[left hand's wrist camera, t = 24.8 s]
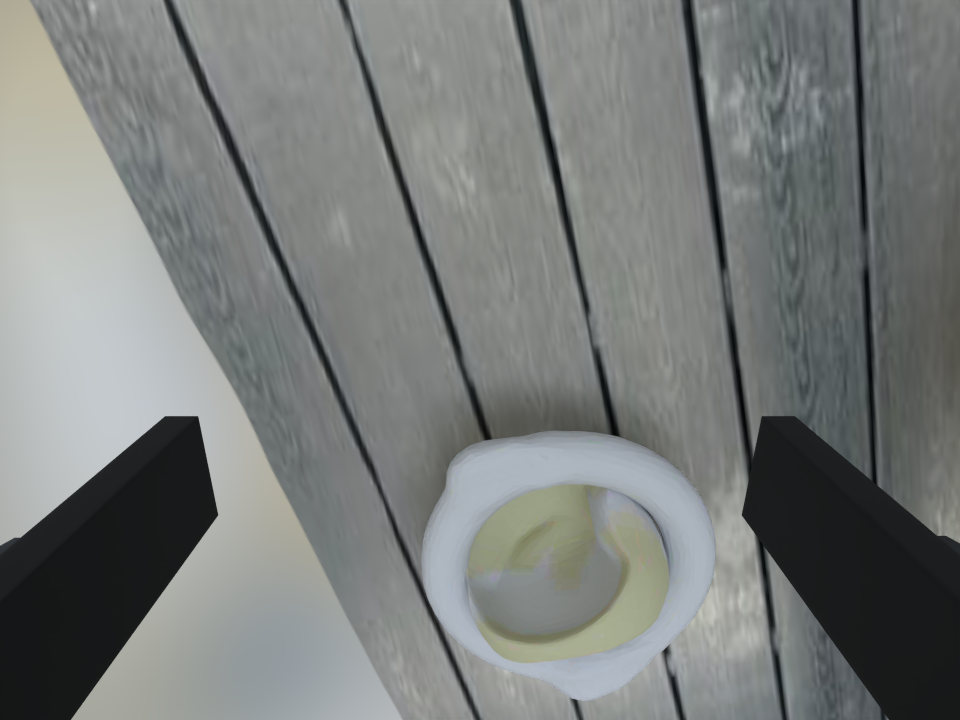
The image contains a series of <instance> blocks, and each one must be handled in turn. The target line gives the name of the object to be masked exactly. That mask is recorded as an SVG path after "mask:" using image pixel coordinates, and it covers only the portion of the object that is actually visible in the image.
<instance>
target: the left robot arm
mask: <svg viewBox="0 0 960 720" xmlns="http://www.w3.org/2000/svg"><path fill="white" fill-rule="evenodd" d="M217 516H218V512H217V507H216V502H215V497H214V492H213V487H212V482H211V478H210V472H209V468H208V463H207V458H206V453H205V448H204V443H203V438H202V433H201V428H200V423H199V418H198V416H165V417H164V418H163V419H161V420H160V421H159V422H158V423H157V424H156V425H154V426H153V427H152V428H151V429H150V430H148V431H147V432H146V433H145V434H144V435H142V436H141V437H140V438H139V439H138V440H136V441H135V442H134V443H133V444H132V445H131V446H129V447H128V448H127V449H126V450H125V451H123V452H122V453H121V454H120V455H119V456H117V457H116V458H115V459H114V460H113V461H111V462H110V463H109V464H108V465H107V466H106V467H104V468H103V469H102V470H101V471H100V472H98V473H97V474H96V475H95V476H94V477H92V478H91V479H90V480H89V481H88V482H86V483H85V484H84V485H83V486H82V487H81V488H79V489H78V490H77V491H76V492H75V493H73V494H72V495H71V496H70V497H69V498H67V499H66V500H65V501H64V502H63V503H62V504H60V505H59V506H58V507H57V508H56V509H54V510H53V511H52V512H51V513H50V514H48V515H47V516H46V517H45V518H44V519H42V520H41V521H40V522H39V523H38V524H37V525H35V526H34V527H33V528H32V529H31V530H29V531H28V532H27V533H26V534H25V535H23V536H22V537H21V538H13V539H12V540H10V541H8V542H6V543H4V544H3V545H1V546H0V720H71V719H72V717H73V716H74V715H75V713H76V712H77V710H78V709H79V708H80V706H81V705H82V703H83V702H84V701H85V699H86V698H87V696H88V695H89V694H90V692H91V691H92V690H93V688H94V687H95V685H96V684H97V683H98V681H99V680H100V678H101V677H102V676H103V674H104V673H105V672H106V670H107V669H108V667H109V666H110V665H111V663H112V662H113V660H114V659H115V658H116V656H117V655H118V653H119V652H120V651H121V649H122V648H123V647H124V645H125V644H126V642H127V641H128V640H129V638H130V637H131V635H132V634H133V633H134V631H135V630H136V628H137V627H138V626H139V624H140V623H141V622H142V620H143V619H144V617H145V616H146V615H147V613H148V612H149V610H150V609H151V608H152V606H153V605H154V603H155V602H156V601H157V599H158V598H159V597H160V595H161V594H162V592H163V591H164V590H165V588H166V587H167V585H168V584H169V583H170V581H171V580H172V579H173V577H174V576H175V574H176V573H177V572H178V570H179V569H180V567H181V566H182V565H183V563H184V562H185V560H186V559H187V558H188V556H189V555H190V554H191V552H192V551H193V549H194V548H195V547H196V545H197V544H198V542H199V541H200V540H201V538H202V537H203V536H204V534H205V533H206V531H207V530H208V529H209V527H210V526H211V524H212V523H213V522H214V520H215V519H216V517H217ZM742 516H743V517H744V519H745V520H746V522H747V523H748V524H749V526H750V527H751V529H752V530H753V531H754V533H755V534H756V536H757V537H758V538H759V540H760V541H761V542H762V544H763V545H764V547H765V548H766V549H767V551H768V552H769V554H770V555H771V556H772V558H773V559H774V561H775V562H776V563H777V565H778V566H779V567H780V569H781V570H782V572H783V573H784V574H785V576H786V577H787V579H788V580H789V581H790V583H791V584H792V585H793V587H794V588H795V590H796V591H797V592H798V594H799V595H800V597H801V598H802V599H803V601H804V602H805V604H806V605H807V606H808V608H809V609H810V610H811V612H812V613H813V615H814V616H815V617H816V619H817V620H818V622H819V623H820V624H821V626H822V627H823V629H824V630H825V631H826V633H827V634H828V635H829V637H830V638H831V640H832V641H833V642H834V644H835V645H836V647H837V648H838V649H839V651H840V652H841V654H842V655H843V656H844V658H845V659H846V660H847V662H848V663H849V665H850V666H851V667H852V669H853V670H854V672H855V673H856V674H857V676H858V677H859V678H860V680H861V681H862V683H863V684H864V685H865V687H866V688H867V690H868V691H869V692H870V694H871V695H872V697H873V698H874V699H875V701H876V702H877V703H878V705H879V706H880V708H881V709H882V710H883V712H884V713H885V715H886V716H887V717H888V719H889V720H960V543H958V542H956V541H954V540H952V539H951V538H949V537H947V536H937V535H935V534H934V533H933V532H932V531H931V530H929V529H928V528H927V527H926V526H925V525H923V524H922V523H921V522H920V521H919V520H918V519H916V518H915V517H914V516H913V515H912V514H910V513H909V512H908V511H907V510H906V509H904V508H903V507H902V506H901V505H900V504H898V503H897V502H896V501H895V500H894V499H893V498H891V497H890V496H889V495H888V494H887V493H885V492H884V491H883V490H882V489H881V488H879V487H878V486H877V485H876V484H875V483H874V482H872V481H871V480H870V479H869V478H868V477H866V476H865V475H864V474H863V473H862V472H860V471H859V470H858V469H857V468H856V467H854V466H853V465H852V464H851V463H850V462H849V461H847V460H846V459H845V458H844V457H843V456H841V455H840V454H839V453H838V452H837V451H835V450H834V449H833V448H832V447H831V446H829V445H828V444H827V443H826V442H825V441H824V440H822V439H821V438H820V437H819V436H818V435H816V434H815V433H814V432H813V431H812V430H810V429H809V428H808V427H807V426H806V425H805V424H803V423H802V422H801V421H800V420H799V419H797V418H796V417H795V416H762V418H761V423H760V428H759V433H758V438H757V443H756V448H755V453H754V458H753V463H752V468H751V472H750V477H749V482H748V487H747V492H746V497H745V502H744V507H743V512H742Z"/></svg>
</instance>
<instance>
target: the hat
mask: <svg viewBox="0 0 960 720" xmlns="http://www.w3.org/2000/svg"><path fill="white" fill-rule="evenodd" d="M649 513H650V514H651V515H650V514H649ZM651 516H652V517H653V518H654V520H655V521H656V523H657V525H658V527H659V530H660V532H661V535H662V538H663V542H662V539H661V536H660V534H659V531H658V529H657V527H656V525H655V523H654V521H653V519H652V517H651ZM715 561H716V543H715V535H714V529H713V525H712V522H711V519H710V516H709V514H708V511H707V509H706V507H705V505H704V503H703V501H702V499H701V497H700V495H699V493H698V492H697V491H696V489H695V488H694V487H693V485H692V484H691V482H690V481H689V480H688V479H687V478H686V477H685V476H684V475H683V474H682V473H681V472H680V471H679V470H678V469H677V468H676V467H675V466H673V465H672V464H671V463H670V462H669V461H667V460H666V459H665V458H663V457H661V456H660V455H658V454H657V453H655V452H654V451H652V450H650V449H648V448H646V447H644V446H642V445H640V444H638V443H635V442H632V441H629V440H626V439H623V438H621V437H617V436H613V435H608V434H603V433H596V432H589V431H543V432H537V433H533V434H529V435H525V436H517V437H508V438H500V439H493V440H486V441H481V442H478V443H475V444H471V445H470V446H468V447H467V448H465V449H464V450H462V451H461V452H460V453H458V454H457V455H456V456H455V458H454V459H453V460H452V461H451V463H450V465H449V468H448V470H447V477H446V487H445V489H444V491H443V493H442V495H441V497H440V499H439V501H438V502H437V504H436V506H435V507H434V510H433V512H432V514H431V516H430V518H429V520H428V523H427V526H426V529H425V533H424V538H423V545H422V556H421V565H422V576H423V584H424V587H425V591H426V594H427V597H428V600H429V602H430V604H431V606H432V608H433V611H434V613H435V614H436V616H437V617H438V619H439V620H440V622H441V623H442V625H443V626H444V627H445V629H446V630H447V631H448V632H449V633H450V634H451V635H452V636H453V637H454V638H455V639H456V640H457V641H458V642H459V643H460V644H461V645H462V646H463V647H464V648H466V649H467V650H469V651H470V652H471V653H473V654H474V655H476V656H477V657H479V658H481V659H483V660H484V661H486V662H488V663H490V664H492V665H494V666H497V667H499V668H502V669H504V670H507V671H510V672H513V673H516V674H520V675H523V676H527V677H531V678H535V679H539V680H542V681H544V682H546V683H549V684H551V685H552V686H554V687H555V688H557V689H558V690H560V691H561V692H563V693H564V694H566V695H567V696H569V697H570V698H573V699H577V700H582V701H589V700H594V699H597V698H600V697H602V696H604V695H607V694H609V693H611V692H614V691H616V690H618V689H620V688H621V687H623V686H625V685H626V684H627V683H628V682H630V681H631V680H632V679H633V678H634V677H635V676H636V675H638V674H639V673H640V672H641V671H642V670H643V669H644V668H645V667H646V666H647V665H648V664H649V663H650V662H651V660H652V659H653V658H654V657H655V656H656V655H658V654H659V653H660V652H661V651H663V650H664V649H665V648H666V647H667V646H668V645H669V644H670V643H671V642H672V641H673V640H674V639H675V638H676V637H677V636H678V635H679V633H680V632H681V631H683V630H684V629H685V627H686V626H687V625H688V624H689V623H690V622H691V620H692V619H693V618H694V616H695V615H696V613H697V612H698V610H699V609H700V607H701V605H702V604H703V602H704V599H705V597H706V595H707V593H708V591H709V587H710V584H711V581H712V578H713V573H714V567H715Z"/></svg>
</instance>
